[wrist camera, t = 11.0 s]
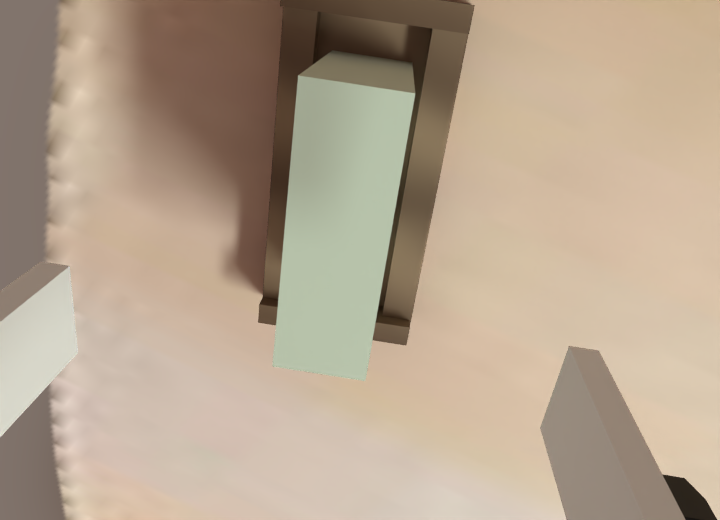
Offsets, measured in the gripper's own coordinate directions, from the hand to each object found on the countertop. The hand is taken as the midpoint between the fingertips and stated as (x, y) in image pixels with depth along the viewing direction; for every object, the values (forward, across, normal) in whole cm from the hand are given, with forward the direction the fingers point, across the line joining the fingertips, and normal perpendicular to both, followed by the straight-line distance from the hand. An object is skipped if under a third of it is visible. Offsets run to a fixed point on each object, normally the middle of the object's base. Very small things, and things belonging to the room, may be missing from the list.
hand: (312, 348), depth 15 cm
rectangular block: (+17, 0, 0) cm, 17 cm away
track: (+18, 0, 0) cm, 18 cm away
